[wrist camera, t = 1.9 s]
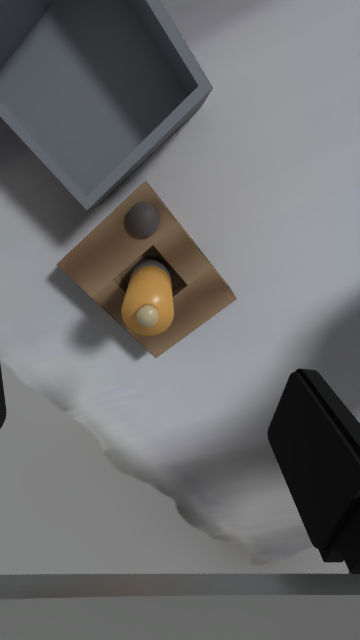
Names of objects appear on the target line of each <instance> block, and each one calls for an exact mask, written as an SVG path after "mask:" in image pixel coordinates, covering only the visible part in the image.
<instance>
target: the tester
mask: <svg viewBox="0 0 360 640" xmlns="http://www.w3.org/2000/svg"><path fill="white" fill-rule="evenodd" d="M146 257H156V258H159V259H161V260H162V261H164V262H165V263H166V264H167V266H168V267H169V270H170V273H171V283H172V296H173V307H174V317H173V321H172V323H171V324H170V326H169V327H168V328H167V329H166V330H165V331H163V332H162V333H160V334H157V335H153V336H143V335H139V334H137V333H135V332H133V331H131V330H130V329H129V328H128V327H127V326H126V324H125V323H124V321H123V318H122V313H121V310H122V305H123V302H124V298H125V295H126V291H127V288H128V284H129V280H130V277H131V273H132V270H133V267H134V266H135V264H136V263H137V262H138V261H139V260H141V259H143V258H146ZM56 265H57V266H58V267H60V268H61V269H62V270H63V271H64V272H65V273H66V274H67V275H68V276H69V277H70V278H71V279H72V280H73V281H74V282H75V283H77V284H78V285H79V286H80V287H81V288H82V289H83V290H84V291H85V292H86V293H87V294H88V295H89V296H90V297H91V298H92V299H93V300H95V301H96V302H97V303H98V304H99V305H100V306H101V307H102V308H103V309H104V310H105V311H106V312H107V313H108V314H109V315H110V316H111V317H113V318H114V319H115V320H116V321H117V322H118V323H119V324H120V325H121V326H122V327H123V328H124V329H125V330H126V331H127V332H128V333H130V334H131V335H132V336H133V337H134V338H135V339H136V340H137V341H138V342H139V343H140V344H141V345H142V346H143V347H144V348H145V349H146V350H148V351H149V352H150V353H151V354H152V355H153V356H154V357H155V358H157V357H158V356H160V355H161V354H162V353H164V352H165V351H166V350H168V349H169V348H171V347H172V346H173V345H175V344H176V343H177V342H179V341H180V340H181V339H183V338H184V337H186V336H187V335H188V334H190V333H191V332H192V331H194V330H195V329H196V328H198V327H199V326H201V325H202V324H203V323H205V322H206V321H207V320H209V319H210V318H211V317H213V316H214V315H216V314H217V313H218V312H220V311H221V310H222V309H224V308H225V307H226V306H228V305H229V304H231V303H232V302H233V301H235V300H236V297H235V295H234V294H233V292H232V290H231V289H230V287H229V286H228V285H227V283H226V282H225V281H224V279H223V278H222V277H221V276H220V274H219V273H218V272H217V271H216V269H215V268H214V267H213V265H212V264H211V263H210V262H209V260H208V259H207V258H206V257H205V255H204V254H203V253H202V252H201V250H200V249H199V248H198V246H197V245H196V244H195V243H194V241H193V240H192V239H191V238H190V236H189V235H188V234H187V232H186V231H185V230H184V229H183V227H182V226H181V225H180V224H179V222H178V221H177V220H176V219H175V217H174V216H173V215H172V213H171V212H170V211H169V210H168V208H167V207H166V206H165V205H164V203H163V202H162V201H161V199H160V198H159V197H158V196H157V194H156V193H155V192H154V191H153V189H152V188H151V187H150V186H149V184H148V183H147V182H146V181H145V182H143V183H142V184H141V185H140V186H139V187H138V188H137V189H136V190H135V191H134V192H133V193H132V194H131V195H130V196H129V197H128V198H127V199H125V200H124V201H123V202H122V203H121V204H120V205H119V206H118V207H117V208H116V209H115V210H114V211H113V212H112V213H111V214H110V215H108V216H107V217H106V218H105V219H104V220H103V221H102V222H101V223H100V224H99V225H98V226H97V227H96V228H95V229H94V230H93V231H91V232H90V233H89V234H88V235H87V236H86V237H85V238H84V239H83V240H82V241H81V242H80V243H79V244H78V245H77V246H76V247H74V248H73V249H72V250H71V251H70V252H69V253H68V254H67V255H66V256H65V257H64V258H63V259H62V260H61V261H60V262H59V263H58V264H56Z"/></svg>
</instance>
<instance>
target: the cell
mask: <svg viewBox="0 0 360 640" xmlns="http://www.w3.org/2000/svg"><path fill="white" fill-rule="evenodd" d="M121 313H122V318H123V321H124V323H125V324H126V326H127V327H128V328H129V329H130V330H131V331H133V332H135V333H137V334H139V335H143V336H153V335H157V334H160V333H162V332H163V331H165V330H166V329H167V328H168V327H169V326H170V324H171V323H172V321H173V317H174V307H173V296H172V283H171V273H170V270H169V267H168V266H167V264H166V263H165V262H164V261H162V260H161V259H159V258H156V257H146V258H143V259H141V260H139V261H138V262H137V263H136V264H135V266H134V267H133V270H132V273H131V277H130V280H129V284H128V288H127V291H126V295H125V298H124V302H123V305H122V310H121Z"/></svg>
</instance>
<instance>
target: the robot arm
mask: <svg viewBox="0 0 360 640" xmlns="http://www.w3.org/2000/svg"><path fill="white" fill-rule="evenodd" d="M5 418H6V406H5V397H4V389H3V382H2V374H1V366H0V428H1V427H2V425H3V423H4V421H5ZM268 440H269V442H270V445H271V447H272V450H273V452H274V454H275V457H276V459H277V462H278V464H279V466H280V469H281V471H282V474H283V476H284V478H285V481H286V483H287V485H288V488H289V490H290V493H291V495H292V497H293V500H294V502H295V505H296V507H297V509H298V512H299V514H300V517H301V519H302V521H303V524H304V526H305V528H306V531H307V533H308V536H309V538H310V540H311V542H312V544H313V546H314V547H315V548H318V549H319V552H320V554H321V556H322V559H323V561H324V562H343V561H345V563H346V565H347V567H348V569H349V572H348V574H40V575H39V574H33V575H0V640H360V423H359V422H358V421H357V420H356V418H355V417H354V416H353V415H352V413H351V412H350V411H349V410H348V409H347V407H346V406H345V405H344V404H343V402H342V401H341V400H340V399H339V397H338V396H337V395H336V394H335V393H334V391H333V390H332V389H331V388H330V386H329V385H328V384H327V383H326V381H325V380H324V379H323V378H322V376H321V375H320V374H319V373H318V372H317V371H315V370H308V369H297V370H296V371H295V372H293V373H291V375H290V376H289V379H288V381H287V384H286V386H285V389H284V391H283V394H282V396H281V399H280V401H279V404H278V406H277V409H276V411H275V414H274V416H273V419H272V421H271V424H270V426H269V429H268Z"/></svg>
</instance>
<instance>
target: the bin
mask: <svg viewBox="0 0 360 640" xmlns="http://www.w3.org/2000/svg"><path fill="white" fill-rule="evenodd" d="M212 89H213V87H212V85H211V84H210V82H209V80H208V79H207V77H206V75H205V74H204V72H203V70H202V69H201V67H200V65H199V64H198V62H197V60H196V59H195V57H194V55H193V54H192V52H191V50H190V49H189V47H188V45H187V44H186V42H185V40H184V39H183V37H182V35H181V34H180V32H179V30H178V29H177V27H176V25H175V24H174V22H173V20H172V19H171V17H170V15H169V14H168V12H167V10H166V9H165V7H164V5H163V4H162V2H161V0H0V117H1V118H2V119H3V120H4V121H5V122H6V123H7V124H8V125H9V127H10V128H11V129H12V130H13V131H14V132H15V133H16V134H17V135H18V136H19V137H20V138H21V140H22V141H23V142H24V143H25V144H26V145H27V146H28V147H29V148H30V149H31V150H32V152H33V153H34V154H35V155H36V156H37V157H38V158H39V159H40V160H41V161H42V162H43V163H44V165H45V166H46V167H47V168H48V169H49V170H50V171H51V172H52V173H53V174H54V175H55V177H56V178H57V179H58V180H59V181H60V182H61V183H62V184H63V185H64V186H65V187H66V188H67V190H68V191H69V192H70V193H71V194H72V195H73V196H74V197H75V198H76V199H77V200H78V202H79V203H80V204H81V205H82V206H83V207H84V208H85V209H86V210H89V209H91V208H93V207H95V206H97V205H99V204H101V203H102V202H103V201H104V200H105V199H106V198H107V197H108V196H109V195H110V194H111V193H112V192H113V191H114V190H115V189H116V188H117V187H118V186H119V185H120V184H122V183H123V182H124V181H125V180H126V179H127V178H128V177H129V176H130V175H131V174H132V173H133V172H134V171H135V170H136V169H137V168H138V167H139V166H140V165H141V164H142V163H143V162H144V161H145V160H146V159H147V158H148V157H149V156H151V155H152V154H153V153H154V152H155V151H156V150H157V149H158V148H159V147H160V146H161V145H162V144H163V143H164V142H165V141H166V140H167V139H168V138H169V137H170V136H171V135H172V134H173V133H174V132H175V131H176V130H177V129H179V128H180V127H181V126H182V125H183V124H184V123H185V122H186V121H187V120H188V119H189V118H190V117H191V116H192V115H193V114H194V113H195V112H196V111H197V110H198V109H199V108H200V107H201V106H202V105H203V103H204V102H205V100H206V98H207V97H208V95H209V94H210V92H211V90H212Z"/></svg>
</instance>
